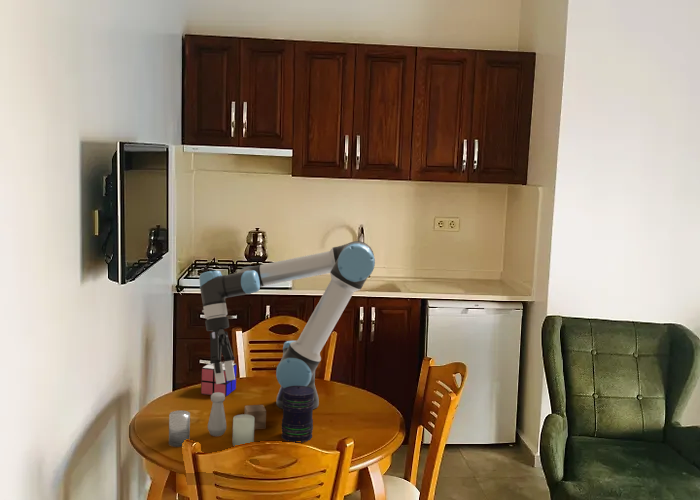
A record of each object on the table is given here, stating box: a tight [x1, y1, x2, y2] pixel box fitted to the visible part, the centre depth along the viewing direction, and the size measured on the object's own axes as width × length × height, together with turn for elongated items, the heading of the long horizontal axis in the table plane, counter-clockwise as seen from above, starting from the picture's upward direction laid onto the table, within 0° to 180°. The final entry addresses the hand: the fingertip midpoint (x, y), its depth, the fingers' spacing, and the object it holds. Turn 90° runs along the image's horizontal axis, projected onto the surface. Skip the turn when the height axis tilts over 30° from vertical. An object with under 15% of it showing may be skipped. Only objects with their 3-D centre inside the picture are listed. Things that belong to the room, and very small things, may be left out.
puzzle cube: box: [200, 361, 237, 398], centre depth 251 cm, size 10×10×10 cm
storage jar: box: [281, 386, 314, 443], centre depth 210 cm, size 10×10×15 cm
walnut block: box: [244, 404, 267, 430], centre depth 218 cm, size 6×6×6 cm
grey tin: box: [168, 410, 191, 448], centre depth 201 cm, size 6×6×9 cm
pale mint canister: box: [231, 413, 255, 447], centre depth 203 cm, size 6×6×8 cm
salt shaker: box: [207, 392, 227, 437], centre depth 209 cm, size 6×6×13 cm
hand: (226, 381), depth 220 cm, fingers open, 13 cm apart
